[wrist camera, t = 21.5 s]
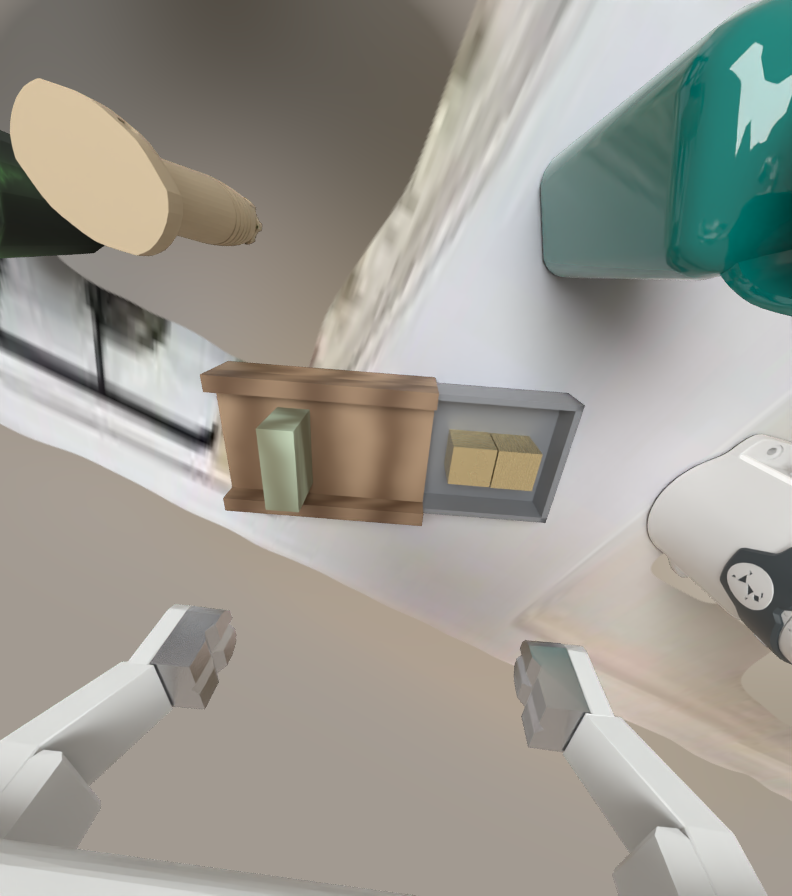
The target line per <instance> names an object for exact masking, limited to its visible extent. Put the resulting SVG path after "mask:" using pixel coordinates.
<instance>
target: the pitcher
mask: <svg viewBox="0 0 792 896" xmlns="http://www.w3.org/2000/svg"><path fill="white" fill-rule="evenodd" d="M541 209H542V233H543V256H544V262H545V264H546V266H547V268H548V270H550V271H551V272H552V273H553V274H555V275H556V276H560V277H566V278H606V279H650V280H693V281H700V280H706V279H710V278H714V277H719V276H721V277H722V278H723V279H724V281H725V282H726V283H727V284H728V285H729V286H730V288H731V289H732V290H734V291H735V292H736V293H737V294H738V295H739V296H741V297H742V298H743V299H745V300H746V301H748V302H749V303H751V304H753V305H756V306H758V307H760V308H763V309H766V310H770V311H773V312H777V313H780V314H784V315H789V316H792V0H760V1H757V2H754V3H751V4H749V5H747V6H744V7H742V8H741V9H739V10H738V11H736V12H734V13H733V14H732V15H731V16H729V17H728V18H727V19H726V20H724V21H723V22H722V23H721V24H719V25H718V26H717V27H716V28H714V29H713V30H712V31H711V32H709V33H708V34H707V35H706V36H704V37H703V38H702V39H701V40H700V41H698V42H697V43H696V44H695V45H693V46H692V47H691V48H690V49H688V50H687V51H686V52H685V53H683V54H682V55H681V56H680V57H678V58H677V59H676V60H675V61H673V62H672V63H671V64H670V65H669V66H667V67H666V68H665V69H664V70H662V71H661V72H660V73H659V74H657V75H656V76H655V77H654V78H652V79H651V80H650V81H649V82H647V83H646V84H645V85H644V86H642V87H641V88H640V89H639V90H638V91H636V92H635V93H634V94H633V95H631V96H630V97H629V98H628V99H626V100H625V101H624V102H623V103H621V104H620V105H619V106H618V107H616V108H615V109H614V110H613V111H611V112H610V113H609V114H608V115H607V116H605V117H604V118H603V119H602V120H600V121H599V122H598V123H597V124H595V125H594V126H593V127H592V128H590V129H589V130H588V131H587V132H585V133H584V134H583V135H582V136H580V137H579V138H578V139H577V140H576V141H574V142H573V143H572V144H571V145H569V146H568V147H567V148H566V149H564V150H563V151H562V152H561V153H559V154H558V155H557V156H556V157H554V158H553V159H552V161H551V163H550V164H549V166H548V167H547V169H546V170H545V172H544V175H543V179H542V182H541Z"/></svg>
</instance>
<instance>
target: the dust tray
mask: <svg viewBox="0 0 792 896" xmlns="http://www.w3.org/2000/svg"><path fill="white" fill-rule="evenodd" d="M437 387H438V391H439V398H438V406H437V410H434V417H433V425H432V433H431V441H430V448H429V456H428V464H427V472H426V480H425V487H424V495H423V513H429V514H442V515H454V516H467V517H479V518H492V519H504V520H517V521H530V522H542V523H546V520H547V517H548V514H549V511H550V508H551V505H552V502H553V499H554V496H555V493H556V490H557V487H558V484H559V481H560V478H561V475H562V472H563V469H564V466H565V463H566V460H567V457H568V454H569V451H570V448H571V445H572V442H573V439H574V436H575V433H576V430H577V427H578V424H579V421H580V418H581V415H582V412H583V409H584V406H585V405H583V404H582V403H581V402H579V401H578V400H577V399H575V398H574V397H573V396H571V395H570V394H569V393H560V392H547V391H534V390H522V389H509V388H497V387H484V386H471V385H459V384H446V383H437ZM449 429H454V430H466V431H479V432H489V434H490V433H498V434H510V435H522V436H530V438H531V439H532V440H533V442H534V443H535V445H536V446H537V447H538V449H539V450H540V451H541V453H542V454H543V456H542V459H541V463H540V466H539V469H538V472H537V476H536V479H535V482H534V486H533V489H532V491H523V490H511V489H499V488H490V486H489V487H480V486H468V485H456V484H448V483H447V478H446V472H445V466H444V460H445V454H446V447H447V441H448V435H449Z"/></svg>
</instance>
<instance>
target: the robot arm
mask: <svg viewBox="0 0 792 896" xmlns="http://www.w3.org/2000/svg"><path fill="white" fill-rule="evenodd" d="M648 533H649V537H650V539H651V541H652V542H653V544H654V545H655V546H656V547H657V548H658V549H659V550H660V551H662V552H663V553H664V554H665V555H666V556H667V557H668V560H669V563H670V566H671V568H672V570H673V571H674V572H675V573H677V574H678V575H679V576H681V577H689V578H690V579H691V580H692V581H693V582H695V583H696V584H697V585H698V586H699V587H700V588H701V589H702V590H703V591H704V592H706V593H707V594H708V595H709V596H710V597H711V598H712V599H713V600H714V601H716V603H718V604H719V605H720V606H721V607H722V608H723V609H724V610H725V611H726V612H728V613H729V614H730V615H731V616H733V617H734V618H736V619H739V620H742V621H743V622H744V624H745V625H746V626H747V627H748V628H749V629H750V630H751V631H752V632H753V633H754V636H755V637H756V638H757V639H758V640H759V641H760V642H761V643H762V644H763V645H764V646H766V647H768V648H769V649H770V650H771V651H772V652H773V653H774V654H775V655H777V656H778V657H779V658H780V659H782V660H783V661H785V662H787V663H789V664H792V442H789V441H785V440H782V439H778V438H775V437H771V436H768V435H764V434H758V435H754V436H752V437H750V438H748V439H746V440H745V441H743V442H742V443H740V444H739V445H737V446H736V447H735V448H733V449H732V450H731V451H729V452H728V453H726V454H724V455H722V456H720V457H717V458H715V459H712V460H710V461H707V462H704V463H702V464H700V465H698V466H696V467H694V468H692V469H690V470H689V471H687V472H685V473H684V474H682V475H681V476H679V477H678V478H677V479H675V480H674V481H673V482H672V483H671V484H670V485H669V486H668V487H667V488H666V489H665V490H664V491H663V492H662V493H661V494H660V496H659V497H658V498H657V500H656V501H655V503H654V505H653V507H652V509H651V511H650V514H649V518H648ZM231 620H232V615H231V612H230V610H222V609H214V608H205V607H196V606H190V605H189V606H188V605H179V604H175V605H173V606H172V607H171V608H169V609H168V610H167V612H166V613H165V614H164V615H163V617H162V618H161V619H160V621H159V622H158V624H157V625H156V626H155V627H154V628H153V630H152V631H151V632H150V634H149V635H148V636H147V637H146V639H145V640H144V641H143V643H142V644H141V645H140V647H139V648H138V649H137V650H136V652H135V653H134V654H133V656H132V657H131V658H130V660H129V661H128V662H123V661H122V662H121V663H119V664H118V665H116V666H114V667H113V668H111V669H110V670H109V671H107V672H105V673H104V674H102V675H101V676H99V677H97V678H96V679H94V680H93V681H92V682H90V683H88V684H87V685H85V686H84V687H82V688H81V689H79V690H77V691H76V692H74V693H73V694H71V695H70V696H68V697H67V698H65V699H64V700H62V701H60V702H59V703H57V704H56V705H54V706H53V707H51V708H50V709H48V710H47V711H45V712H43V713H42V714H40V715H39V716H37V717H36V718H34V719H33V720H31V721H30V722H28V723H27V724H25V725H23V726H22V727H20V728H19V729H17V730H16V731H14V732H13V733H11V734H9V735H8V736H7V737H5V738H3V739H2V740H0V896H416V895H408V894H401V893H394V892H387V891H379V890H372V889H365V888H358V887H350V886H343V885H336V884H328V883H321V882H313V881H307V880H299V879H292V878H284V877H277V876H270V875H263V874H256V873H248V872H241V871H234V870H227V869H219V868H212V867H205V866H197V865H190V864H182V863H176V862H168V861H161V860H154V859H146V858H139V857H131V856H124V855H117V854H110V853H102V852H96V851H88V850H81V849H77V847H78V846H79V844H80V843H81V841H82V839H83V838H84V836H85V834H86V832H87V831H88V829H89V827H90V826H91V824H92V822H93V821H94V819H95V817H96V815H97V814H98V812H99V811H100V809H101V801H100V799H99V798H98V797H97V795H96V794H95V793H94V792H93V791H92V789H91V788H90V787H89V786H90V785H91V784H92V783H93V782H94V781H95V780H96V779H97V778H99V777H100V776H101V775H102V774H103V773H104V772H105V771H106V770H107V769H108V768H109V767H111V765H113V764H114V763H115V762H116V761H117V760H118V759H119V758H120V757H121V756H122V755H124V754H125V753H126V752H127V751H128V750H129V749H130V748H131V747H132V746H133V745H134V744H135V743H136V742H138V741H139V740H140V739H141V738H142V737H143V736H144V735H145V734H146V733H147V732H148V731H149V730H150V729H152V728H153V727H154V726H155V725H156V724H157V723H158V722H159V721H160V720H161V719H162V718H163V717H165V716H166V715H167V714H168V713H169V712H170V711H171V710H172V709H173V708H172V707H182V708H194V709H205V708H206V706H207V704H208V702H209V700H210V698H211V696H212V694H213V693H214V690H215V688H216V687H217V684H218V683H219V680H218V672H219V671H220V670H222V669H223V668H224V667H226V666H227V665H228V662H229V661H230V659H231V657H232V654H233V651H234V648H235V644H236V631H235V628H234V627H232V626H231V625H230V622H231ZM520 650H521V654H522V655H521V656H520V657H518V658H517V659H516V662H515V666H514V682H515V689H516V693H517V697H518V699H519V700H520V701H521V703H522V704H523V705H524V706H525V709H524V711H523V714H522V716H521V717H522V721H523V726H524V730H525V735H526V739H527V744H528V747H530V748H537V749H544V750H550V751H557V752H564V753H563V755H564V757H565V759H566V760H567V761H568V763H569V764H570V766H571V767H572V769H573V770H574V772H575V773H576V775H577V776H578V778H579V779H580V781H581V782H582V783H583V785H584V786H585V788H586V789H587V791H588V792H589V794H590V795H591V797H592V798H593V800H594V801H595V803H596V804H597V806H598V807H599V809H600V810H601V812H602V813H603V814H604V816H605V817H606V819H607V820H608V822H609V823H610V825H611V826H612V828H613V829H614V831H615V832H616V834H617V835H618V837H619V838H620V840H621V841H622V842H623V844H624V845H625V847H626V848H627V850H628V851H629V853H630V854H629V855H628V856H627V857H626V858H625V859H624V860H623V861H622V862H621V863H620V864H619V865H618V866H617V867H616V868H615V870H614V873H613V875H612V876H613V879H614V883H615V886H616V889H617V893H618V896H768V895H767V894H766V892H765V890H764V888H763V886H762V885H761V883H760V881H759V879H758V877H757V875H756V873H755V872H754V870H753V868H752V866H751V864H750V863H749V861H748V859H747V857H746V855H745V853H744V852H743V850H742V848H741V846H740V844H739V843H738V841H737V839H736V837H735V835H734V834H733V833H732V832H731V831H730V829H728V827H727V826H726V825H725V824H724V823H723V822H722V821H721V820H720V819H719V818H718V817H717V816H716V815H715V814H714V813H713V812H712V811H711V810H710V809H709V808H708V807H707V806H706V805H705V804H704V803H703V802H702V801H701V799H700V798H699V797H698V796H697V795H696V794H695V793H694V792H693V791H692V790H691V789H690V788H689V787H688V786H687V785H686V784H685V783H684V782H683V781H682V780H681V779H680V778H679V777H678V776H677V775H676V774H675V773H674V772H673V771H672V769H671V768H670V767H669V766H668V765H667V764H666V763H665V762H664V761H663V760H662V759H661V758H660V757H659V756H658V755H657V754H656V753H655V752H654V751H653V750H652V749H651V748H650V747H649V746H648V745H647V744H646V743H645V742H644V740H643V739H642V738H641V737H639V735H638V734H637V733H636V732H635V731H634V730H633V729H632V728H631V727H630V726H629V725H628V724H627V723H626V722H625V721H624V720H623V719H622V718H621V717H616V716H614V713H613V711H612V709H611V706H610V704H609V702H608V700H607V697H606V695H605V693H604V690H603V688H602V686H601V683H600V681H599V679H598V676H597V674H596V672H595V670H594V667H593V665H592V663H591V660H590V658H589V656H588V653H587V651H586V650H585V649H584V648H583V647H582V646H578V645H566V644H561V643H551V642H539V641H527V640H525V641H523V642H522V644H521V647H520Z"/></svg>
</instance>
